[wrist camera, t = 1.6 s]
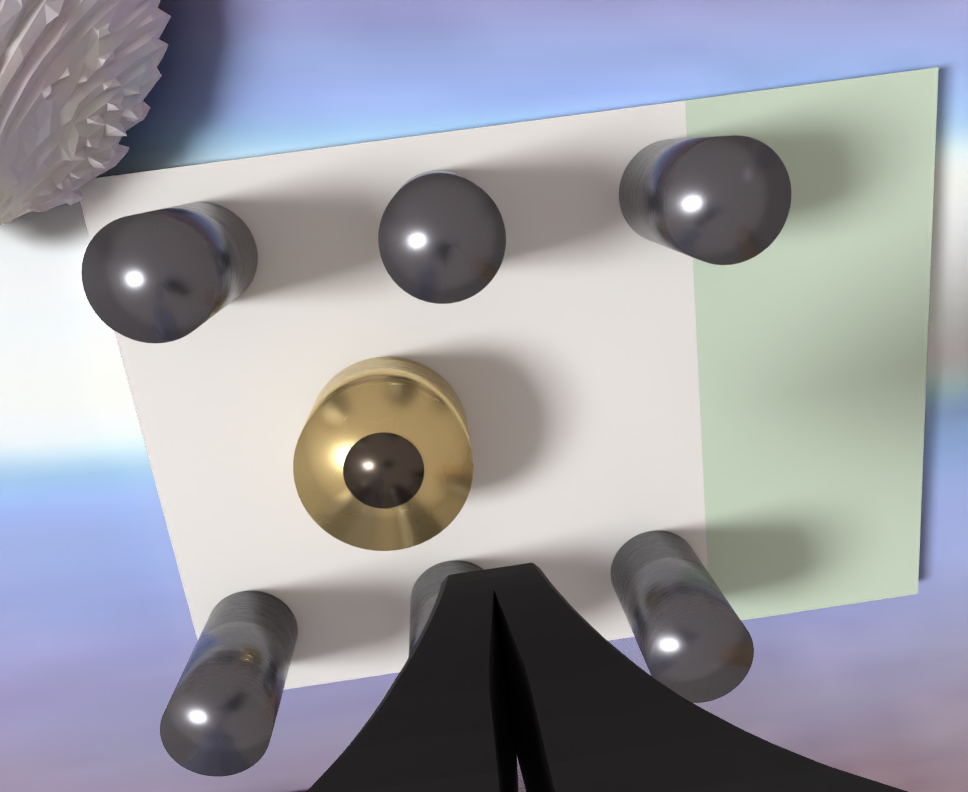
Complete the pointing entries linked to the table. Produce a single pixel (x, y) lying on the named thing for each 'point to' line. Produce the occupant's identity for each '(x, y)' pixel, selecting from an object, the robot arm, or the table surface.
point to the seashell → (70, 93)
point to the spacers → (441, 280)
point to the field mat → (567, 367)
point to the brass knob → (384, 455)
